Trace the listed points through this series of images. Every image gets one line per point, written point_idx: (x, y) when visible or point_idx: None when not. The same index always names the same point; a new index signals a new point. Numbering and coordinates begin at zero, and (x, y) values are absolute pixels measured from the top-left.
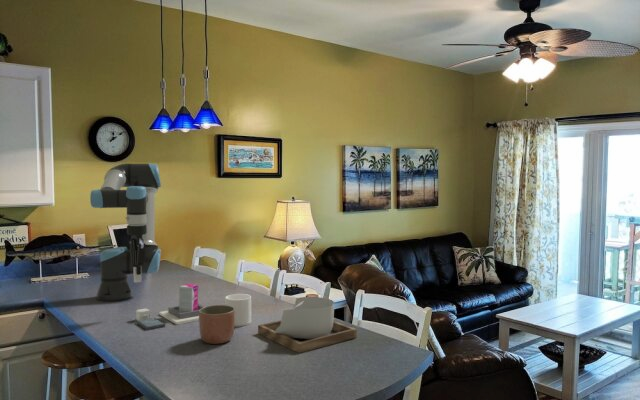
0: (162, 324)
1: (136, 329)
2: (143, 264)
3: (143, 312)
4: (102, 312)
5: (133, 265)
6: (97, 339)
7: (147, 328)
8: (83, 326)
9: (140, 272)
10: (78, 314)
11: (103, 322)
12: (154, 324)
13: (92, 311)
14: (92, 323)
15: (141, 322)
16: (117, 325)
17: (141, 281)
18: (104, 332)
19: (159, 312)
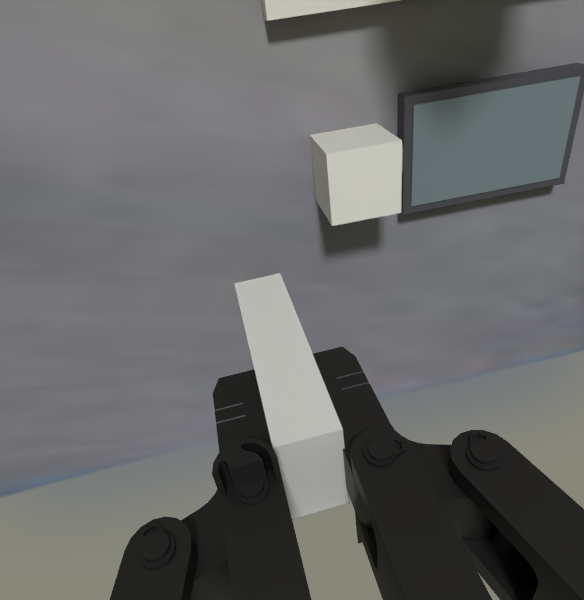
0: (580, 83)
1: (499, 223)
2: (508, 443)
3: (397, 184)
4: (52, 358)
5: (361, 539)
6: (511, 367)
7: (560, 177)
8: None
9: (359, 369)
10: (61, 449)
11: None
12: (549, 132)
13: (9, 402)
14: None
15: (458, 195)
16: (371, 298)
17: (280, 276)
18: (442, 348)
19: (272, 19)
